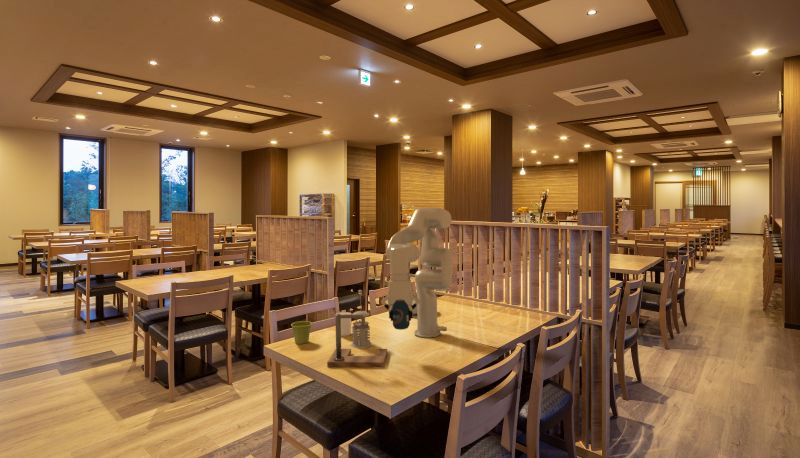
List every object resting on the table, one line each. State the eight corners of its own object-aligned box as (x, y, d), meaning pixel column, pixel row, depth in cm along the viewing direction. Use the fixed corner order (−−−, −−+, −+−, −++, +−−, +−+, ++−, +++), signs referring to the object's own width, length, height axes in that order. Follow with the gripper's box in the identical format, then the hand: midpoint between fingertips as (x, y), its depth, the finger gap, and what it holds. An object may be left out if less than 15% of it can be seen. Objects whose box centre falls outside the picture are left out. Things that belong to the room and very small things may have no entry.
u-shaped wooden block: (387, 353, 183) (387, 348, 183) (383, 367, 167) (383, 362, 167) (335, 353, 185) (335, 348, 185) (327, 367, 169) (327, 362, 169)
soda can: (389, 328, 177) (388, 299, 176) (398, 324, 183) (397, 296, 182) (404, 331, 173) (403, 301, 172) (412, 326, 179) (412, 297, 178)
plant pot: (316, 340, 204) (315, 321, 203) (305, 346, 195) (304, 327, 194) (298, 338, 207) (298, 320, 206) (287, 344, 198) (287, 325, 197)
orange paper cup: (348, 336, 208) (348, 316, 208) (333, 336, 210) (332, 315, 209) (353, 332, 216) (353, 312, 215) (338, 331, 217) (338, 311, 217)
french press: (374, 341, 200) (373, 287, 198) (367, 350, 188) (366, 292, 187) (354, 340, 202) (353, 287, 200) (346, 348, 190) (344, 292, 189)
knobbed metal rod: (366, 357, 173) (365, 313, 172) (364, 361, 169) (363, 315, 168) (335, 357, 173) (333, 313, 173) (332, 361, 169) (331, 315, 169)
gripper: (421, 274, 180) (422, 317, 181) (379, 275, 181) (380, 317, 182) (420, 278, 172) (422, 322, 174) (377, 279, 173) (378, 322, 175)
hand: (400, 319), depth 178 cm, fingers closed on soda can, 6 cm apart
